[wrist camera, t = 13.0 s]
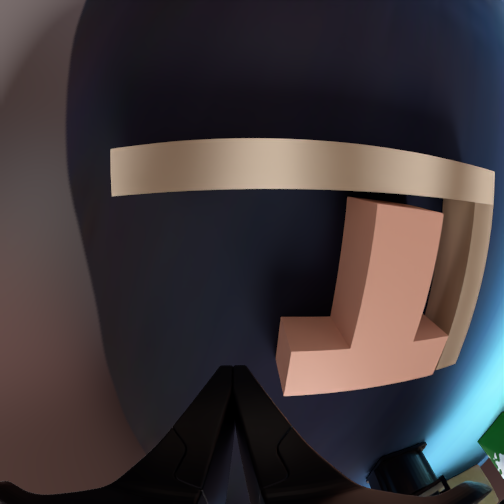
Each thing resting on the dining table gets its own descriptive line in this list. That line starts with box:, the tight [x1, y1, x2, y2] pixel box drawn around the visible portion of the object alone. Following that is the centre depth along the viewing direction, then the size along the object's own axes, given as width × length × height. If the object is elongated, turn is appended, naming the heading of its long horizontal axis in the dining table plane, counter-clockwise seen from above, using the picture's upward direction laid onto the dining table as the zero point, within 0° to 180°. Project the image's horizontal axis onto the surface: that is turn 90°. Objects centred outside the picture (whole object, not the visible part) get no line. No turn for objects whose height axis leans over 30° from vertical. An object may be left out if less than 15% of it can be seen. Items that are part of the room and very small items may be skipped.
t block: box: [276, 197, 448, 396], centre depth 14 cm, size 10×10×4 cm
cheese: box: [438, 465, 498, 504], centre depth 24 cm, size 22×10×15 cm, turn 88°
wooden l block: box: [111, 138, 495, 370], centre depth 13 cm, size 20×13×3 cm, turn 90°
